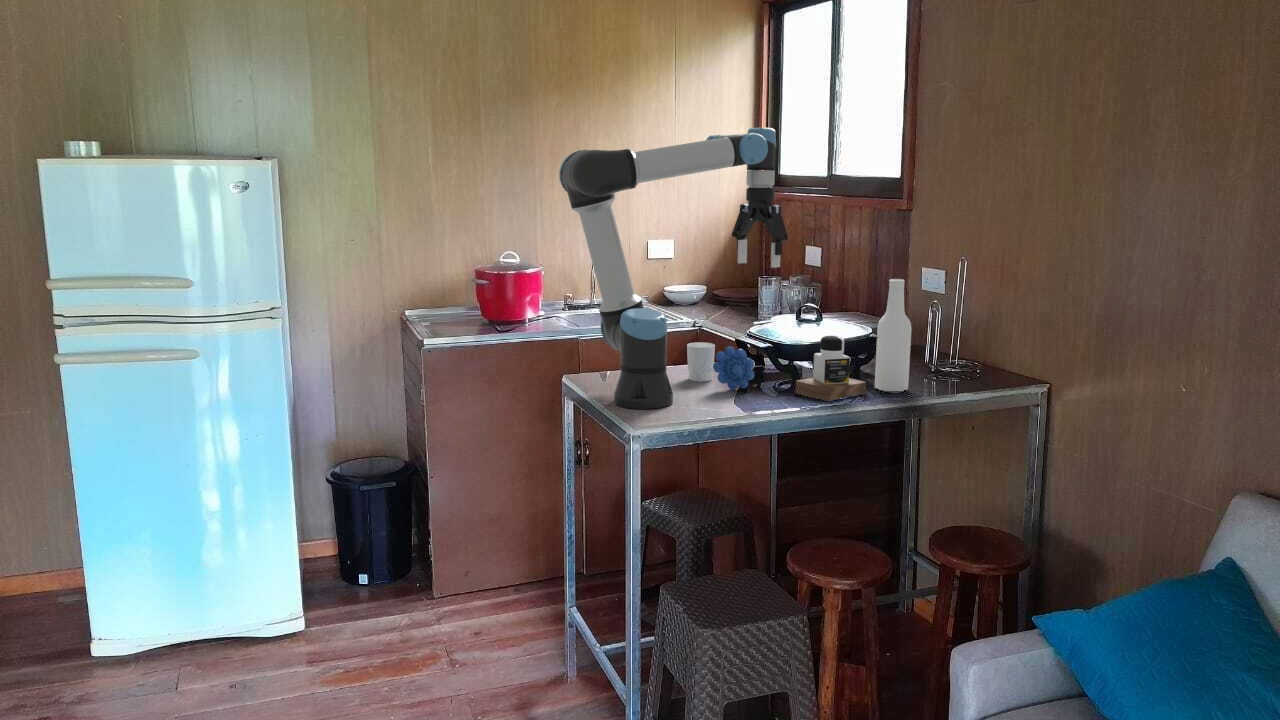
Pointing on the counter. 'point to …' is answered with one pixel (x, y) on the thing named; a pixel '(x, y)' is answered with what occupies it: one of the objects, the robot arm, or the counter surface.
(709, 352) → the white cup
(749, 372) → the blue flower
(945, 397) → the counter surface
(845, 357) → the medicine bottle
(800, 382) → the base block
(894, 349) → the alcohol
